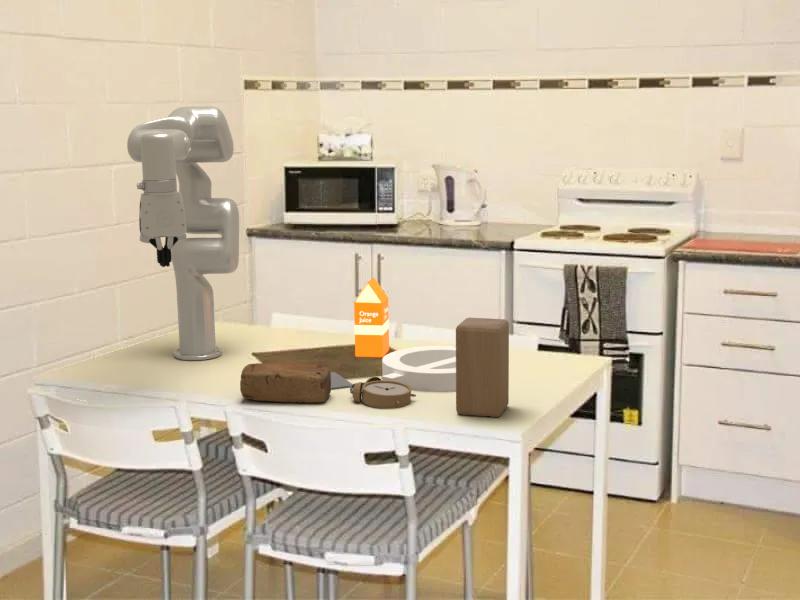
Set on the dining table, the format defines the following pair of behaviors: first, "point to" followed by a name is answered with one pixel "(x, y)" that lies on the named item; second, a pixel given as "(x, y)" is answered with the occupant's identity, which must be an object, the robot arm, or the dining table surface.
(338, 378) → the mat
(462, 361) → the wooden block
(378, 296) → the orange juice
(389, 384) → the alarm clock
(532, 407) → the dining table surface
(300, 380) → the block
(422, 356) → the white circle with bar
